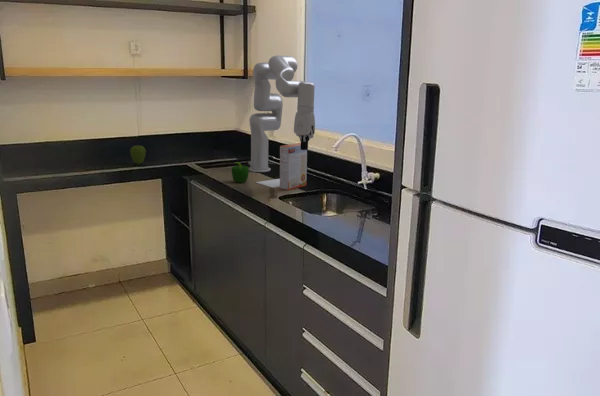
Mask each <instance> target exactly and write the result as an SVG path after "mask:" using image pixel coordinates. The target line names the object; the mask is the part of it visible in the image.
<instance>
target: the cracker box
mask: <svg viewBox="0 0 600 396" xmlns="http://www.w3.org/2000/svg"><path fill="white" fill-rule="evenodd" d="M307 164H308V150H301V142H296V143H291V144H283V145H280V146H279V179H280V187H279V189H280V190H284V191H291V190H295V189H299V188H304V187H306V186H307V178H308V177H307V173H308V172H307V171H308V165H307Z"/></svg>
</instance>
